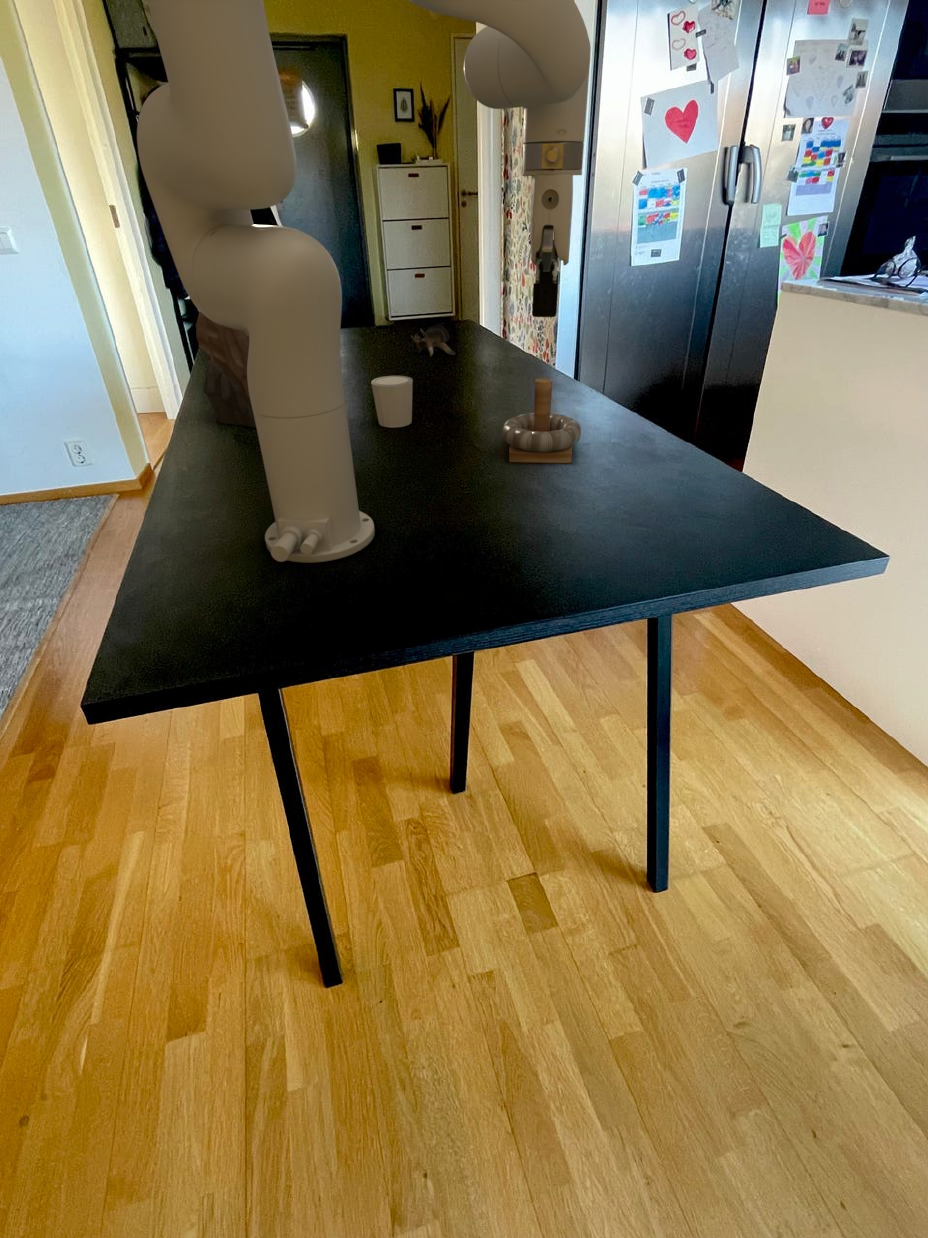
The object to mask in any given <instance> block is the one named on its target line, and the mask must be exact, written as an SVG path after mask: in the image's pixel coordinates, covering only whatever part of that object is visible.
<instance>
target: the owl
mask: <svg viewBox="0 0 928 1238" xmlns="http://www.w3.org/2000/svg"><path fill="white" fill-rule="evenodd" d="M195 329H196V330H195V333H196V334H195V335H196V340H197V343H198V349H199V350H200V351H201V352H202V353H203V354H204V356H205V357H206V359H207V363H206V368H205V370H204V372H203V373H204V375H205V377H204V378H205V379H204V383H203V394H204V395H205V396H206V397H207V399H208V401H209V403H210V404H211V407H212V409H213V410H214V413H215V414H216V415H217V419H218V422H219V423H221V424H228V425H234V426H245V427H249V428H254V429H255V428H256V423H255V418H254V413H253V410H252V405H251V400H250V395H249V389H248V381H247V362H248V353H249V337H250V336H249V332H246V331H242V330H237V329H232V328H229V327H225V326H223V325H220V324H217V323H215V322H213V321H212V320H210V319H209V318H207V317H206V316H205V315H203V314H202V313H201V312H200V311H199V312H198V317H197V320H196V323H195ZM256 429H257V428H256Z"/></svg>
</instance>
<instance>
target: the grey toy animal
mask: <svg viewBox="0 0 928 1238" xmlns="http://www.w3.org/2000/svg"><path fill="white" fill-rule="evenodd" d="M420 333H421V334H422V336H423V337H422V338H421V337H420V336H419V335H418V333H415V334H414V335H410V339H411V340H412V341H413V342H414V344H415V346H416V347H417V352H418V354H420V353H421V351H422V350H423V349H424V348H427V349H428V352H429V357H432V356H433V355H434V348H439V349H440V350H442V351H444V352H445V353H446V354H447V355H451V356H454V355H456V352H455V351H454V350H452V348H451V347H450V346H448V345H447V344H446V343H448V341H449V339H450V335H449V331H448V330H447V329H446V328H445V327H444V326H443V325H441V324H437V325H433V326H429V327H428V328H427V329H426V330H425V331H424V330H423V328H420ZM413 336H414V337H413ZM421 343H423V344H422V345H421Z"/></svg>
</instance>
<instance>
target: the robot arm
mask: <svg viewBox="0 0 928 1238" xmlns="http://www.w3.org/2000/svg"><path fill="white" fill-rule="evenodd" d="M408 1H409V2H410V3H412V4H413V5H415V6H417V7H420V8H422V9H425V10H428V11H431V12H433V13H436V14H440V15H444V16H447V17H452V18H456V19H462V20H465V21H470V22H474V23H477V24H480V25H484V26H485V27H484V28H482V29H481V30H479V31H478V32H477V33H476V34H475V35H474V36H473V37H472V39H471V40H470V42H469V44H468V45H467V48H466V50H465V54H464V60H463V74H464V75H463V76H464V79H465V83H466V86H467V88H468V91H469V93H470V94H471V95H472V97H473V98H474V99H475V100H476V101H477V102H478V103H479V104H481V105H482V106H485V107H486V108H489V109H495V110H505V109H516V108H517V109H518V108H523V133H522V135H523V136H522V164H521V166H522V168H521V171H522V172H521V173H522V174H521V176H522V177H531V182H530V184H531V186H530V216H529V217H530V221H529V234H530V237H529V239H530V256H531V257H530V258H531V263H532V265H534V266H535V277H534V278H535V280H534V281H535V282H533V283H532V284H533V285H532V287H533V289H532V307H531V309H532V311H531V315H532V317H534V318H555V317H557V311H558V295H559V294H558V293H559V274H558V265H559V261H561V262H562V264H563V266H567V265H568V264H569V261H570V249H571V248H570V247H571V235H572V234H571V233H572V219H573V218H572V217H573V204H574V203H573V201H574V199H573V198H574V176H583V162H584V149H585V136H586V123H587V109H588V108H587V107H588V96H589V95H588V93H589V81H590V80H589V79H590V68H591V67H590V66H591V50H592V49H591V48H592V47H591V41H590V38H589V34H588V33H589V32H588V30H587V26H586V24H585V20H584V18H583V16H582V14H581V11H580V9H579V7H578V6H577V3H576V1H575V0H408ZM146 2H147V5H148V9H149V12H150V17H151V20H152V21H151V22H152V24H153V28H154V32H155V36H156V40H157V44H158V48H159V51H160V55H161V59H162V63H163V65H164V69H165V73H166V77H167V81H168V83H167V82H166V83H165V84H163V85H161V86H158V88H156V89H155V90H154V91H152V92H151V93H150V94H149V95H148V97H147V98H146V99H145V101H144V102H143V105H142V107H141V109H140V111H139V115H138V118H137V127H136V142H137V143H136V144H137V153H138V158H139V163H140V168H141V171H142V174H143V178H144V182H145V183H146V187H147V189H148V192H149V196H150V198H151V201H152V204H153V207H154V210H155V212H156V215H157V219H158V222H159V223H160V227H161V229H162V232H163V235H164V238H165V241H166V243H167V246H168V249H169V251H170V255H171V257H172V260H173V262H174V266H175V268H176V271H177V273H178V276H179V278H180V280H181V283H182V286H183V287H184V290H185V292H186V293H187V295H188V297H189V298H190V300H191V302H192V304H193V305H194V306H195V307H196V308H197V310H198V311H199V312H201V313H202V314H203V315H205V316H206V317H207V318H209V319H210V320H212V321H213V322H215V323H217V324H220V325H223V326H225V327H229V328H232V329H237V330H242V331H246V332H249V336H250V337H249V353H248V362H247V381H248V389H249V395H250V400H251V405H252V410H253V413H254V418H255V423H256V433H257V438H258V442H259V447H260V453H261V457H262V461H263V467H264V471H265V476H266V482H267V486H268V492H269V497H270V501H271V505H272V511H273V516H274V522H273V523H272V524H271V525H270V526H269V527H268V528H267V529H266V530H265V534H264V541H265V546H266V548H267V550H268V551H269V553H270V555H271V557H272V558H273V559H274V560H275V561H277V562H280V563H283V562H286V561H288V562H293V563H304V564H312V563H313V564H315V563H325V562H326V563H327V562H331V561H335V560H339V559H343V558H346V557H349V556H351V555H354V554H357V553H358V552H360V551H362V550H363V549H364V548H366V547H367V546H369V544H370V543H371V542H372V541H373V539H374V537H375V535H376V534H375V532H376V529H375V523H374V520H373V519H372V517H370V516H369V515H368V514H367V513H365V512H363V511H361V510H360V509H359V508H360V507H359V501H358V492H357V484H356V476H355V468H354V460H353V453H352V445H351V444H352V443H351V436H350V429H349V427H350V426H349V419H348V412H347V411H348V410H347V405H346V404H347V403H346V398H345V397H346V396H345V390H344V380H343V373H342V371H343V370H342V358H341V325H342V311H343V309H342V308H343V291H342V290H343V289H342V282H341V276H340V273H339V269H338V267H337V265H336V263H335V261H334V259H333V257H332V256H331V253H330V252H329V251H328V250H327V249H326V247H325V246H324V245H322V243H320V241H318V240H317V239H316V238H314V237H313V236H311V235H310V234H308V233H307V232H305V231H302V230H299V229H297V228H294V227H289V226H283V225H270V224H254V220H253V217H252V212H251V210H260V209H268V208H271V207H274V206H276V205H278V204H280V203H281V202H283V201H284V200H285V199H287V197H288V196H289V195H290V194H291V192H292V190H293V189H294V187H295V185H296V178H297V173H298V163H297V161H298V160H297V155H296V154H297V153H296V147H295V141H294V137H293V132H292V127H291V123H290V118H289V115H288V109H287V106H286V105H287V104H286V101H285V97H284V92H283V88H282V84H281V79H280V75H279V71H278V67H277V62H276V57H275V54H274V53H275V52H274V50H273V49H274V48H273V45H272V41H271V36H270V32H269V26H268V21H267V15H266V9H265V8H266V7H265V4H264V0H146Z"/></svg>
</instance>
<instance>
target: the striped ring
mask: <svg viewBox="0 0 928 1238" xmlns="http://www.w3.org/2000/svg"><path fill="white" fill-rule="evenodd" d="M502 426H503V427H502V430H501V438H502V439H503V441H504V442H505V443H507V444H508V445H511V446H512V447H514V448H518V449H522V450H526V451H531V452H552V451H557V450H563V449H567V448H569V447H570V446H572V447H573V445H576V444H577V443H578V442H579V441H580V440H581V437H582V427H581V424H580V423H579V422H578V421H577V420H575V419H574V418H572V417H570V416H568V415H564V414H559V413H554V412H551V416H550V431H549V432H537V431H533V430H534V412H530V413H524V414H517V415H516V416H514V417H512V418H510V419H507V420H506V421H505V422H504V424H503V425H502Z"/></svg>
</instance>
